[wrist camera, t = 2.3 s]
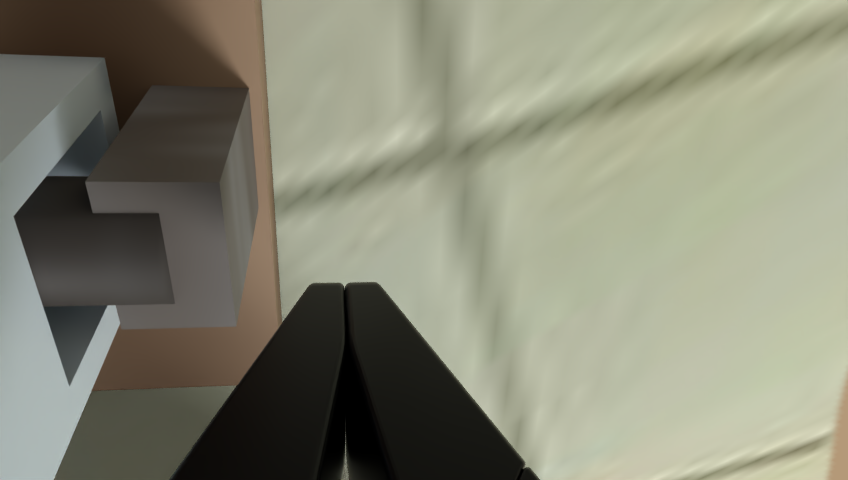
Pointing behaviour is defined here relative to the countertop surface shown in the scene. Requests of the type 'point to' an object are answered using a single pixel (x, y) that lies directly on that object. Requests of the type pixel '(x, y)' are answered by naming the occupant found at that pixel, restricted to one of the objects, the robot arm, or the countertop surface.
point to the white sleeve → (10, 271)
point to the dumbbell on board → (162, 187)
